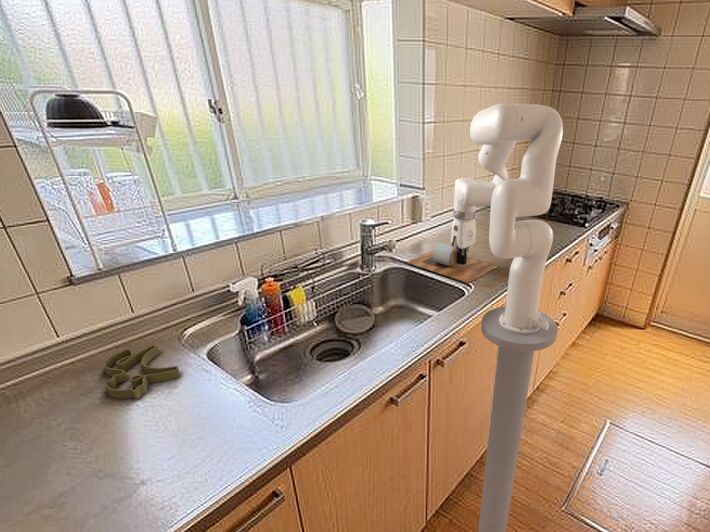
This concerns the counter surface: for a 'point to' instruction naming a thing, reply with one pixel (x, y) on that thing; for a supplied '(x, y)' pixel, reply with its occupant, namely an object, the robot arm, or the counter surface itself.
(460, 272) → the wooden cutting board
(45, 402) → the counter surface
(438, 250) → the ceramic mug
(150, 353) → the cookie cutter
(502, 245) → the robot arm
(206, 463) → the counter surface
